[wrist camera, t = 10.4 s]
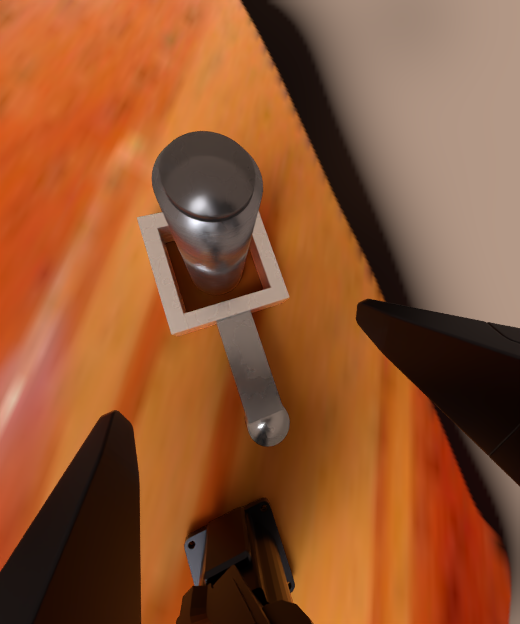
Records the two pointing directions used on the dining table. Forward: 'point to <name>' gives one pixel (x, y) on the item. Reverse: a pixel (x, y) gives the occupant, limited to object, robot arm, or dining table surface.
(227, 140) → the dark grey metal cylinder
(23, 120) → the dining table surface
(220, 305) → the square frame with handle
